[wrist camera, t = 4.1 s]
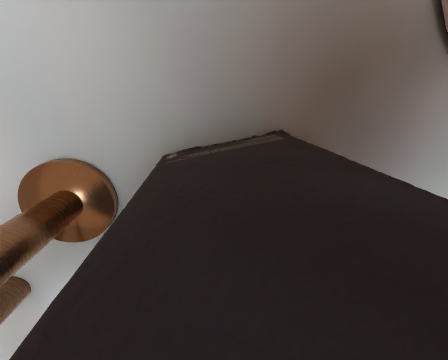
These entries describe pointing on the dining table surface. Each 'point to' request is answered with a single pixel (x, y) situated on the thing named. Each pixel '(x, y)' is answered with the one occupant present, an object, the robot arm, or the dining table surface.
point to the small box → (259, 264)
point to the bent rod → (52, 218)
